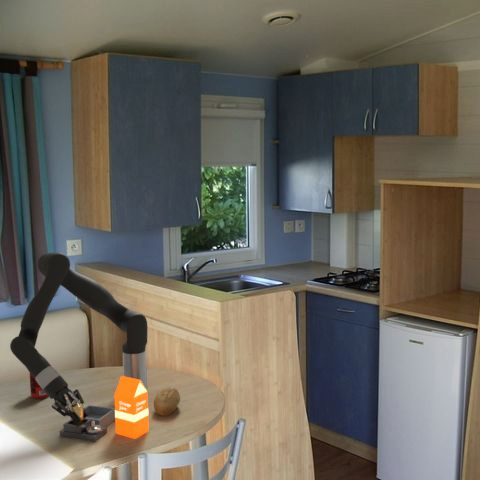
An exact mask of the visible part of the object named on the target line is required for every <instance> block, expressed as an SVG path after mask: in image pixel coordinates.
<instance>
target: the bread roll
mask: <svg viewBox="0 0 480 480" xmlns="http://www.w3.org/2000/svg"><path fill="white" fill-rule="evenodd" d="M180 401H181V395H180V393H179V390H178V389H176V388H171V387H170V388H169V387H168V388H162V389H161V390H159V391H158V392H157V393H156V395H155V396H154V400H153V407H154V411H155V413H156V414H158V415H159V416H162V417H166V416H168V415H171V414H172V413H174V411H175V410H176V408H178V405H179V403H180Z"/></svg>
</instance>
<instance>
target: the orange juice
mask: <svg viewBox="0 0 480 480" xmlns="http://www.w3.org/2000/svg"><path fill="white" fill-rule="evenodd" d="M148 392H149V391H148V389H147V390H146V388H145V387H144V385H143V384H142V382H141V380H139V379H134V378H130V377H125V376H123V375H121V376H120V379H119V382H118V384H117V387H116V389H115V392H114V396H113V397H114V408H115V420H114V421H115V434H117V435H120V436H124V437H126V438H131V439H134V440H136V439H139V438H140V437H141V436H143V435H144V434H147V433H149V431H150V428H149V425H150V424H149V397H148V396H149V395H148V394H149V393H148Z"/></svg>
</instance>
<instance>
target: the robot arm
mask: <svg viewBox="0 0 480 480" xmlns="http://www.w3.org/2000/svg"><path fill="white" fill-rule="evenodd" d="M37 269H38V271H39V272H40V274H41V275H42V276H44V280H43V282H42V284H41V286H40V287H39V289H38V291H37V293H36V294H35V295H34V296H33V297H32V299H31V300H30V302H28V305H27V307H26V309H25V312H24V314H23V317H22V319H21V321H20V331H19V333H18V335H17V336H16V337H14V338H13V339H12V340H11V342H10V346H9V347H10V348H9V349H10V351H11V353H12V354H13V355H14V356H15V357H16V358H17V359H18V361H19V362H20V363H21V364H23V366H25V368H26V369H27V371H28V372H29V374H30V373H31V375H32V376H33V377H34V378H35V379H36V381H37V382H38V384H39V385H40V387H41V388H42V389H43V390H44V391H45V392H46V394H47V395H48V396H49V397H48V398H50V399H51V400H52V399H53V401H54V402H53V404H52V405H51V408H52V409H53V410H54V411H56V412H57V413H59V414H60V415H62V417H70V419H71V418H72V420H73V421H74V422H75V423H79V422H80V421H81V418H80V417H79V416H78V415H77V414H76V412H74V410H73V409H72V407H71V405H73V404H76V403H81V404H83V405H84V404H85V401H84V399H83V397H82V395H81V393H80V391H79V389H75V390H71V389H70V388H69V387H68V386H69V383H67V381H66V380H65V379H64V378H63V376H61V374H60V373H59V372H58V370H56V369H55V368H54V366H52V365H51V364H50V362H49V361H48V360H47V359H46V358H45V357H44V356H43V355H42V354H41V353H40V352H39V350H37V348H36V344H37V340H38V336H39V331H40V329H41V328H42V325H43V323H44V320H45V317H46V316H47V315H46V314H47V312H48V310H49V307H50V306H51V303H52V301H53V300H54V297H55V296H56V294H57V292H58V290H59V288H60V287H63V288H64V289H65V290H67V291H68V292H69V293H70V294H72V295H73V296H75V298H76V299H78V300H80V301H81V302H83V303H84V304H85V305H86V306H88V307H89V308H91V309H92V310H94V311H95V312H97V313H99V314H100V315H102V316H105V317H106V318H108V319H109V321H111V322H112V323H113V324H114V325H115V326H116V327H117V328H118V329H119V330H120V331H122V332H124V333H125V334H126V342H124V343H123V344H122V350H121V351H122V369H123V370H122V371H123V374H122V376H125V377H130V378H134V379H139V380H141V382H142V384H143V385H144V387H145V388H146V390H147V391H148V370H147V369H148V368H147V354H146V353H147V352H146V346H147V345H148V331H149V330H148V320H147V318H146V316H145V315H144V314H143V313H140V312H137V311H135V310H131V309H129V308H127V307H126V306H124V305H123V304H121V303H120V302H118V301H117V300H116V298H114V296H113V294H111V292H110V291H109V290H108V289H107V288H105V287H104V286H102V285H101V284H100V283H98V282H97V281H96V280H95V279H92V278H90V277H89V276H86V275H84V274H81V273H79V272H76V271H74V270H73V269H72V268H71V261H70V259H69V257H68V255H67V254H65V253H62V252H47V253H44V254H42V255H40V256H39V258H38V260H37ZM84 408H85V407H83V415H84V419H85V418H86V417H87V416H88V413H87V411H86V410H85V409H84Z"/></svg>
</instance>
